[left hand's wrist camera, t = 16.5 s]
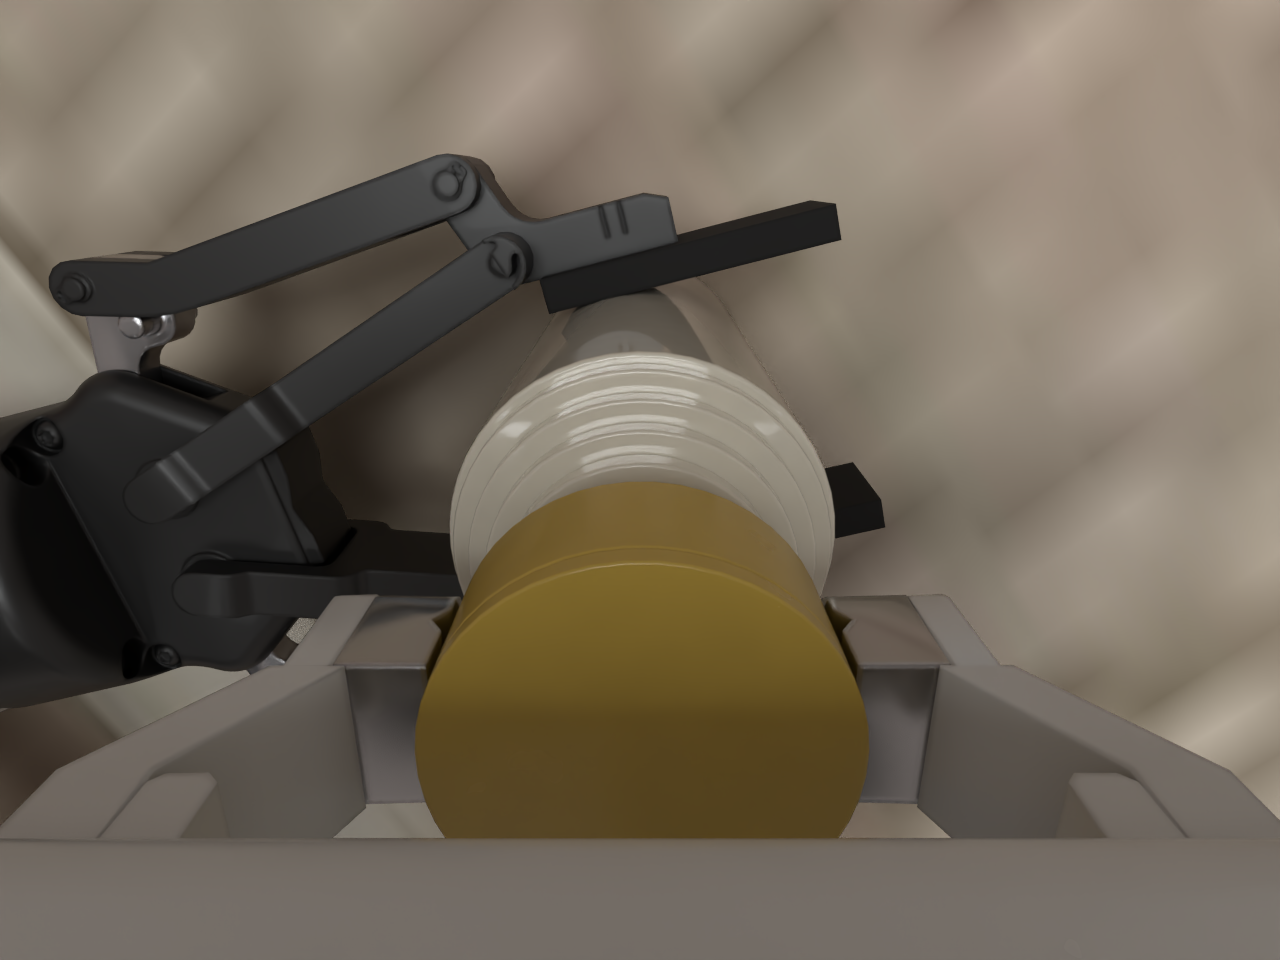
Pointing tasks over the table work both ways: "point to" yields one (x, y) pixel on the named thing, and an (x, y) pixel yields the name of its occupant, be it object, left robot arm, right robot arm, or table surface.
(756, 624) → the cap
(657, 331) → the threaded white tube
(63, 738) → the table surface
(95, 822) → the left robot arm
